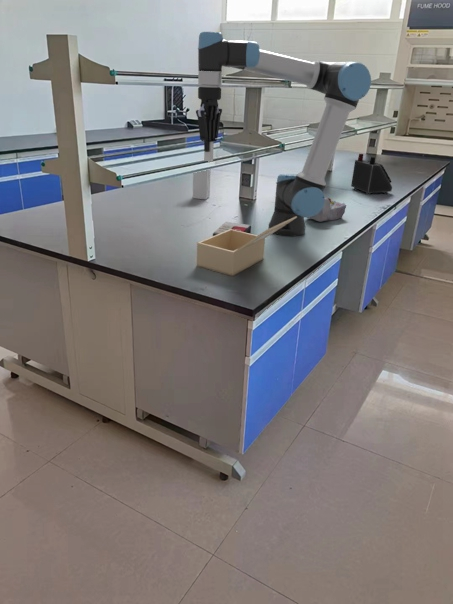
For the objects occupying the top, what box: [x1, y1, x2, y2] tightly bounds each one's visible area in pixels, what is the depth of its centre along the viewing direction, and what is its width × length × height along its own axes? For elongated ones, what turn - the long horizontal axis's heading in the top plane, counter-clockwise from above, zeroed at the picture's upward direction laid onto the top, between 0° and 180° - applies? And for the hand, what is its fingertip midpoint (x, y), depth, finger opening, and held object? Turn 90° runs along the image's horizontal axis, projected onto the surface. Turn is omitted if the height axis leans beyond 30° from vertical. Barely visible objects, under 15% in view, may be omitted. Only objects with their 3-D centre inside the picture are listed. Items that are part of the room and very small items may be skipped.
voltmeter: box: [350, 153, 393, 195], centre depth 276 cm, size 16×16×20 cm
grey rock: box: [305, 196, 347, 223], centre depth 219 cm, size 13×11×20 cm
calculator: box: [212, 221, 252, 236], centre depth 189 cm, size 11×4×15 cm
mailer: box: [196, 229, 266, 277], centre depth 163 cm, size 20×14×8 cm
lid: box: [234, 216, 297, 253], centre depth 153 cm, size 20×14×1 cm
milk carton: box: [192, 169, 211, 200], centre depth 242 cm, size 7×7×19 cm
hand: (208, 161), depth 168 cm, fingers closed
